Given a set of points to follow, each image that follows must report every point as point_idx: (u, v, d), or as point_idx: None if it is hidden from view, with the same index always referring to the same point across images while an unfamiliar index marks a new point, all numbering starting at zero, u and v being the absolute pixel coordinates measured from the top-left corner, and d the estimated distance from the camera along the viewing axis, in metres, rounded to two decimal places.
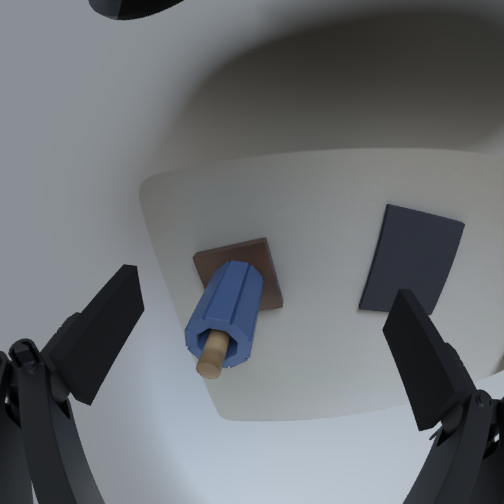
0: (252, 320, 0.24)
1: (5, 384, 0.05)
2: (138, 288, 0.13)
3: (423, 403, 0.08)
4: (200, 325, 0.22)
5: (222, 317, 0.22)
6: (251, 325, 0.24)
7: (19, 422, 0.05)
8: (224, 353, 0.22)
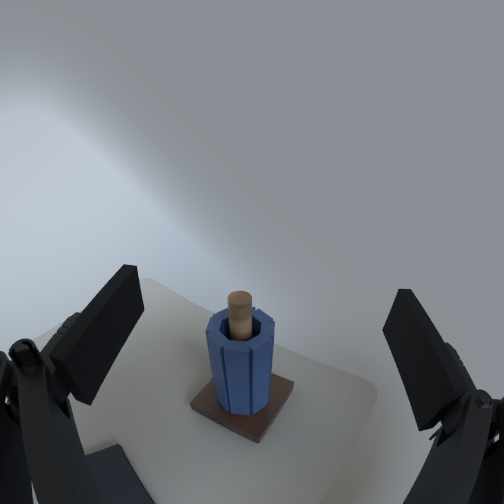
0: (227, 368, 0.22)
1: (5, 385, 0.05)
2: (138, 288, 0.13)
3: (423, 403, 0.08)
4: (267, 330, 0.23)
5: (259, 349, 0.22)
6: (226, 362, 0.22)
7: (19, 422, 0.05)
8: (233, 322, 0.22)
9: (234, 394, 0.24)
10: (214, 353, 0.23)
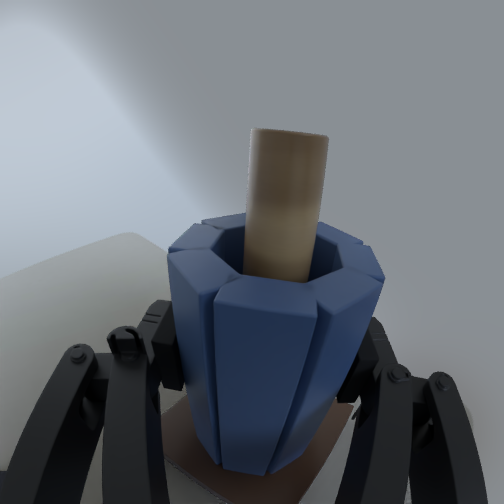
0: (222, 376, 0.06)
1: (84, 382, 0.07)
2: None
3: None
4: (362, 262, 0.07)
5: (349, 314, 0.06)
6: (221, 358, 0.06)
7: (89, 420, 0.07)
8: (263, 214, 0.07)
9: (236, 442, 0.08)
10: (185, 323, 0.07)
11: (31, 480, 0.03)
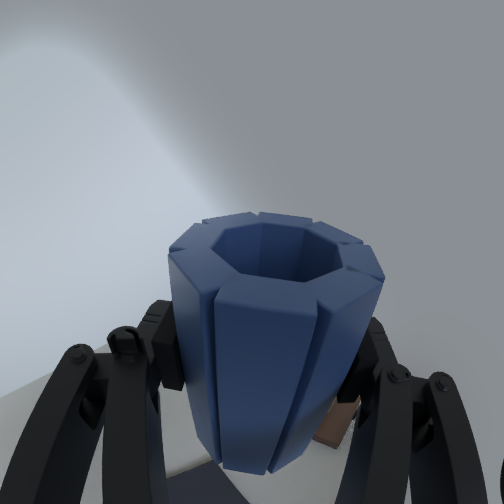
0: (222, 375, 0.06)
1: (84, 382, 0.07)
2: None
3: None
4: (362, 262, 0.07)
5: (350, 313, 0.06)
6: (222, 357, 0.06)
7: (89, 420, 0.07)
8: None
9: (236, 442, 0.08)
10: (186, 322, 0.07)
11: (31, 480, 0.03)
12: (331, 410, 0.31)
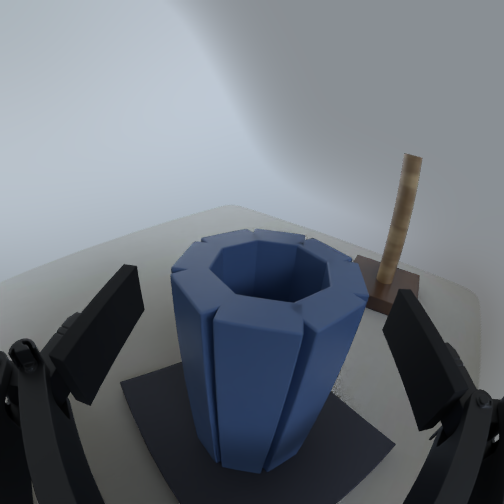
0: (221, 383, 0.07)
1: (5, 384, 0.05)
2: (138, 288, 0.13)
3: (423, 403, 0.08)
4: (348, 280, 0.08)
5: (333, 331, 0.06)
6: (220, 368, 0.07)
7: (19, 422, 0.05)
8: (409, 175, 0.22)
9: (233, 442, 0.09)
10: (187, 335, 0.08)
11: None
12: (393, 282, 0.28)
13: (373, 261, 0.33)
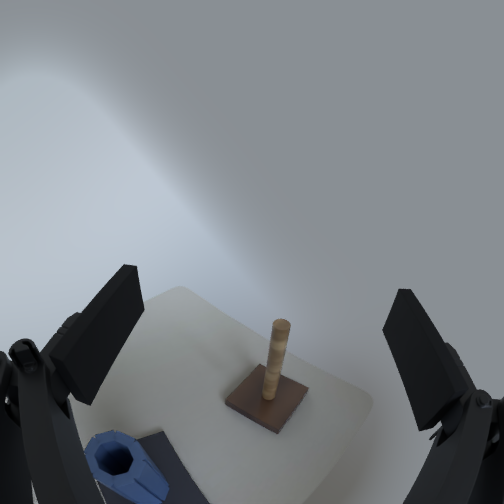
0: (103, 484, 0.15)
1: (5, 384, 0.05)
2: (138, 288, 0.13)
3: (423, 403, 0.08)
4: (135, 471, 0.15)
5: (123, 486, 0.14)
6: (100, 482, 0.14)
7: (19, 422, 0.05)
8: (275, 342, 0.30)
9: (121, 495, 0.16)
10: None
11: None
12: (276, 397, 0.35)
13: None
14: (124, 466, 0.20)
